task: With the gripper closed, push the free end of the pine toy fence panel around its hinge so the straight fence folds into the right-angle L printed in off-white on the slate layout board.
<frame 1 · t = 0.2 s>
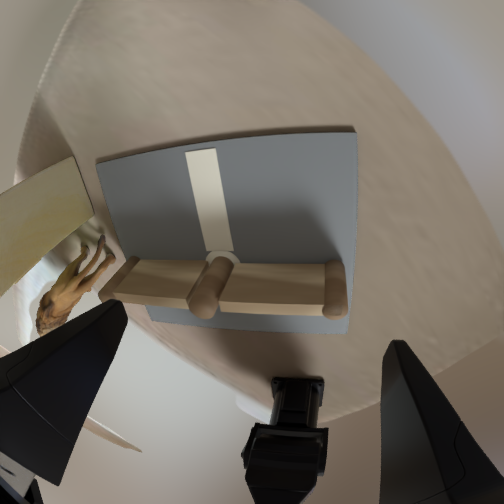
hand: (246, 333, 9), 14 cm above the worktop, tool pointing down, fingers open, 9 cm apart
lion figurine: (90, 272, 31), on the worktop
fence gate: (286, 287, 21), point 3 cm above the worktop, hinge at 0.0°
toy refrigerator: (65, 195, 25), on the worktop
layout board: (224, 250, 24), on the worktop
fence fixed: (224, 262, 25), resting on layout board
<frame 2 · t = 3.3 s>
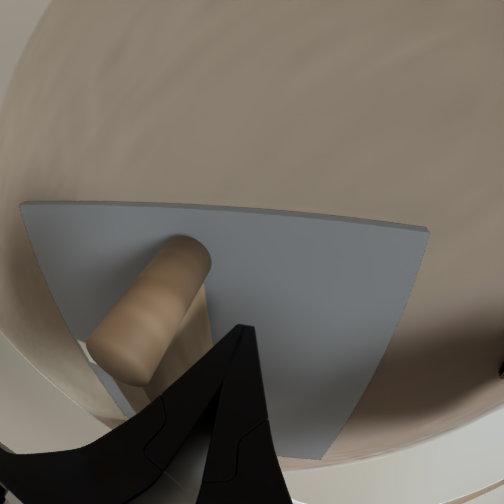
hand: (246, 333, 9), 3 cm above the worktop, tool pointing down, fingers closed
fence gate: (179, 373, 10), point 3 cm above the worktop, hinge at 0.4°, touching gripper
layout board: (197, 378, 16), on the worktop
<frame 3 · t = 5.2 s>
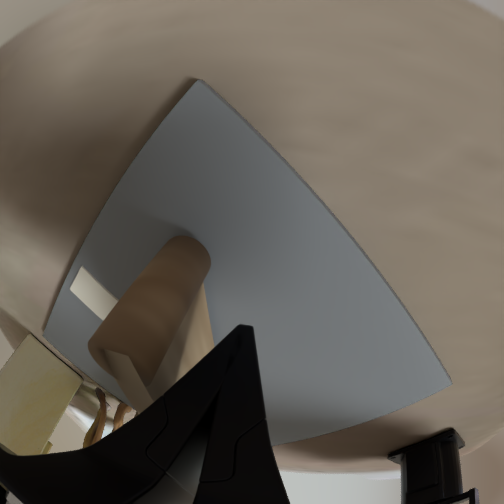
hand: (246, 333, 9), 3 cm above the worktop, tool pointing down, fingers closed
lion figurine: (130, 421, 24), on the worktop
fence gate: (181, 373, 10), point 3 cm above the worktop, hinge at 46.9°, touching gripper
toy refrigerator: (57, 368, 22), on the worktop
layout board: (206, 374, 15), on the worktop
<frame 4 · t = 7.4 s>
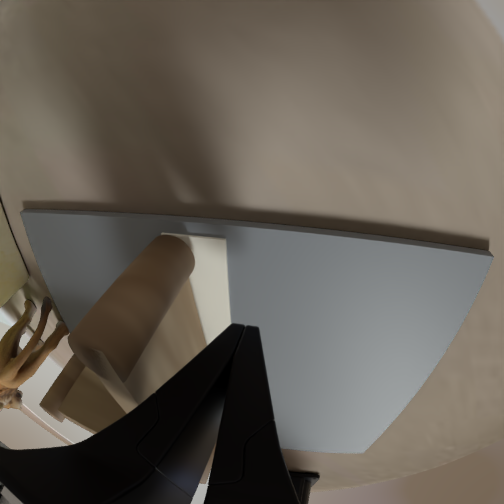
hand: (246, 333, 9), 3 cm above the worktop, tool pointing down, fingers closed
lion figurine: (42, 330, 19), on the worktop
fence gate: (169, 372, 10), point 3 cm above the worktop, hinge at 94.5°
layout board: (220, 375, 15), on the worktop
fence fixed: (218, 386, 15), resting on layout board
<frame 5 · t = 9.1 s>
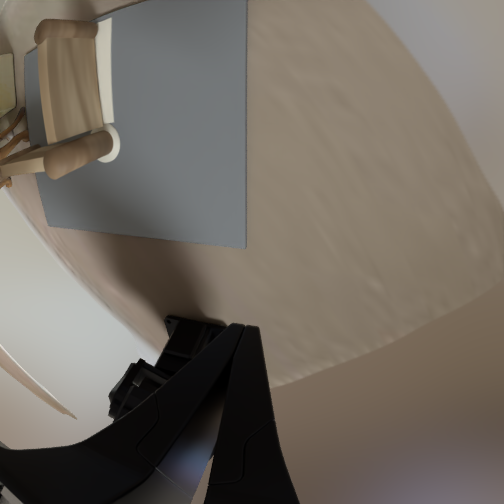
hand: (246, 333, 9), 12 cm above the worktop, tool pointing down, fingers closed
lion figurine: (13, 163, 22), on the worktop, touching layout board
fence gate: (69, 75, 13), point 3 cm above the worktop, hinge at 94.5°
toy refrigerator: (1, 94, 18), on the worktop
layout board: (108, 125, 18), on the worktop
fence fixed: (107, 141, 19), resting on layout board
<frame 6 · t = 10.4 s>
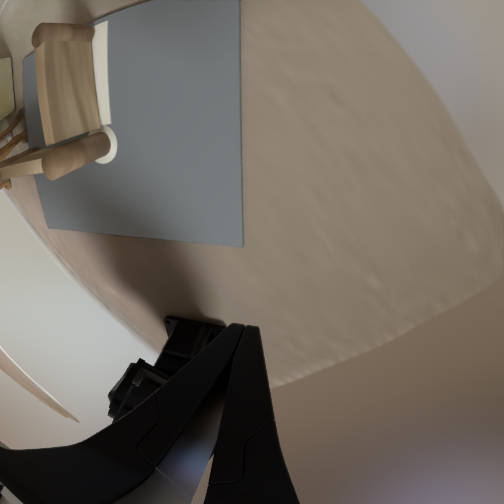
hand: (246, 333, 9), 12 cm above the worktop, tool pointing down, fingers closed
lion figurine: (12, 164, 22), on the worktop
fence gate: (66, 77, 13), point 3 cm above the worktop, hinge at 94.5°
toy refrigerator: (0, 97, 18), on the worktop
layout board: (105, 127, 18), on the worktop
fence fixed: (105, 142, 19), resting on layout board
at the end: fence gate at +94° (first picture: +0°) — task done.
